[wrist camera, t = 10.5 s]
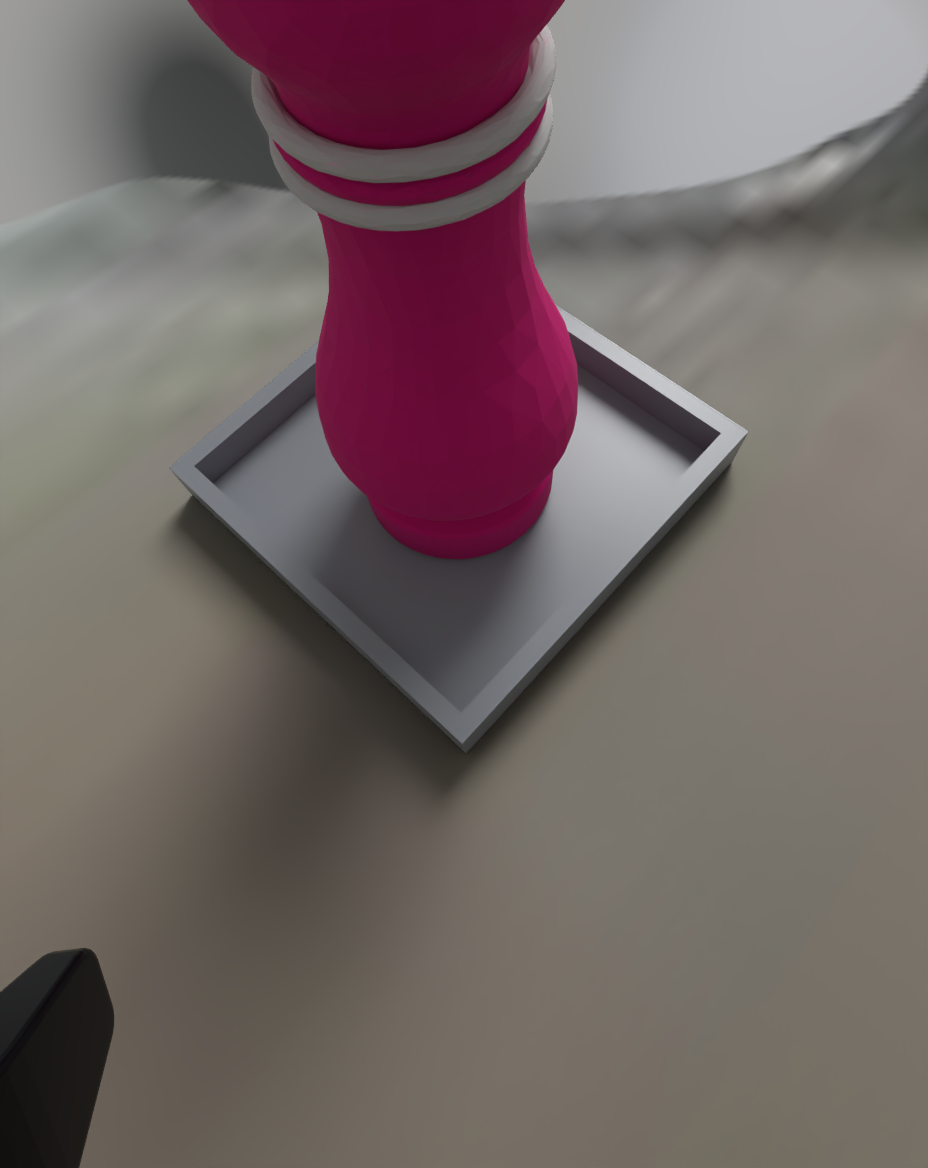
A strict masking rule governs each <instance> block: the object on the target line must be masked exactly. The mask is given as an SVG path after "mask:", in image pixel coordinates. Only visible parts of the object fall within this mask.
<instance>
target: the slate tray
mask: <svg viewBox="0 0 928 1168" xmlns="http://www.w3.org/2000/svg"><path fill="white" fill-rule="evenodd" d="M556 307H557V308H558V310H559V312H560V314H561V316H562V318H563V320H564V321H565V324H566V327H567V330H568V334H569V337H570V341H571V344H572V348H573V351H574V355H575V359H576V362H577V375H578V405H577V417H576V421H575V426H574V431H573V433H572V436H571V439H570V441H569V443H568V446H567V448H566V450H565V453H564V454H563V456H562V458H561V459H560V461H559V462H558V464H557V465H556V467H555V468H554V470H553V479H552V487H551V492H550V495H549V498H548V501H547V503H546V506H545V507H544V509H543V511H542V512H541V514H540V516H539V517H538V519H537V521H536V522H535V523H534V524H533V525H532V526H531V527H530V528H529V529H528V530H527V531H526V533H525V534H523V535H522V536H521V537H519V538H518V539H516V540H515V541H514V542H512V543H511V544H510V545H508V546H506V547H504V548H502V549H500V550H498V551H496V552H493V553H490V554H487V555H483V556H479V557H475V558H468V559H445V558H436V557H432V556H428V555H425V554H422V553H419V552H417V551H414V550H412V549H410V548H408V547H407V546H405V545H403V544H401V543H400V542H399V541H397V540H396V539H395V538H393V537H392V536H391V535H390V534H389V533H388V532H387V531H386V530H385V529H384V527H383V526H382V525H381V524H380V522H379V521H378V520H377V518H376V516H375V514H374V512H373V510H372V508H371V505H370V503H369V500H368V498H367V495H365V494H364V493H363V492H362V491H361V490H360V489H358V488H357V487H356V486H355V485H354V484H353V483H352V482H351V481H350V480H349V479H348V478H347V477H346V475H345V474H344V473H343V472H342V470H341V469H340V467H339V466H338V464H337V462H336V461H335V459H334V458H333V456H332V454H331V452H330V449H329V446H328V444H327V441H326V439H325V435H324V432H323V428H322V424H321V421H320V417H319V412H318V407H317V402H316V396H315V365H316V353H317V348H318V343H319V341H318V342H317V343H316V344H314V345H313V346H312V347H311V348H310V349H309V350H307V351H306V352H305V353H304V354H303V355H301V356H300V357H299V358H298V359H297V360H296V361H294V362H293V363H292V364H291V365H290V366H288V367H287V368H286V369H285V370H284V371H282V372H281V373H280V374H279V375H278V376H277V377H275V378H274V379H273V380H272V381H271V382H269V383H268V384H267V385H266V386H265V387H264V388H262V389H261V390H260V391H259V392H258V393H256V394H255V395H254V396H253V397H252V398H251V399H249V400H248V401H247V402H246V403H245V404H243V405H242V406H241V407H240V408H239V409H238V410H236V411H235V412H234V413H233V414H232V415H230V416H229V417H228V418H227V419H226V420H224V421H223V422H222V423H221V424H220V425H219V426H217V427H216V428H215V429H214V430H213V431H211V432H210V433H209V434H208V435H207V436H206V437H204V438H203V439H202V440H201V441H200V442H198V443H197V444H196V445H195V446H194V447H193V448H191V449H190V450H189V451H188V452H187V453H185V454H184V455H183V456H182V457H181V458H180V459H178V460H177V461H176V462H175V463H174V464H172V465H171V466H170V467H169V469H170V470H171V471H172V472H173V473H174V474H175V476H176V477H177V478H178V479H179V480H180V481H181V483H182V484H183V485H184V486H185V487H186V488H187V490H188V491H189V492H190V493H191V494H192V495H193V496H194V497H195V498H196V499H197V500H198V501H199V502H200V503H201V504H202V505H203V506H204V507H205V508H207V509H208V510H209V511H210V512H211V513H212V514H213V515H214V516H215V517H216V518H217V519H218V520H219V521H220V522H221V523H222V524H223V525H225V526H226V527H227V528H228V529H229V530H230V531H231V532H232V533H233V534H234V535H235V536H236V537H237V538H238V539H239V540H240V541H241V542H243V543H244V544H245V545H246V546H247V547H248V548H249V549H250V550H251V551H252V552H253V553H254V554H255V555H256V556H257V557H258V558H259V559H261V560H262V561H263V562H264V563H265V564H266V565H267V566H268V567H269V568H270V569H271V570H272V571H273V572H274V573H275V574H276V575H277V576H279V577H280V578H281V579H282V580H283V581H284V582H285V583H286V584H287V585H288V586H289V587H290V588H291V589H292V590H293V591H294V592H295V593H297V594H298V595H299V596H300V597H301V598H302V599H303V600H304V601H305V602H306V603H307V604H308V605H309V606H310V607H311V608H312V609H313V610H315V611H316V612H317V613H318V614H319V615H320V616H321V617H322V618H323V619H324V620H325V621H326V622H327V623H328V624H329V625H330V626H331V627H333V628H334V629H335V630H336V631H337V632H338V633H339V634H340V635H341V636H342V637H343V638H344V639H345V640H346V641H347V642H348V643H349V644H351V645H352V646H353V647H354V648H355V649H356V650H357V651H358V652H359V653H360V654H361V655H362V656H363V657H364V658H365V659H366V660H367V661H369V662H370V663H371V664H372V665H373V666H374V667H375V668H376V669H377V670H378V671H379V672H380V673H381V674H382V675H383V676H384V677H385V678H387V679H388V680H389V681H390V682H391V683H392V684H393V685H394V686H395V687H396V688H397V689H398V690H399V691H400V692H401V693H402V694H403V695H405V696H406V697H407V698H408V699H409V700H410V701H411V702H412V703H413V704H414V705H415V706H416V707H417V708H418V709H419V710H420V711H421V712H423V713H424V714H425V715H426V716H427V717H428V718H429V719H430V720H431V721H432V722H433V723H434V724H435V725H436V726H437V727H438V728H439V729H441V730H442V731H443V732H444V733H445V734H446V735H447V736H448V737H449V738H450V739H451V740H452V741H453V742H454V743H455V744H456V745H457V746H459V747H460V748H461V749H462V750H463V751H464V752H465V753H467V752H468V751H469V750H470V749H471V748H472V747H473V746H474V745H475V743H476V742H477V741H478V740H479V739H480V738H481V737H482V736H483V735H484V734H485V732H486V731H487V730H488V729H489V728H490V727H491V726H492V725H493V724H494V723H495V722H496V720H497V719H498V718H499V717H500V716H501V715H502V714H503V713H504V712H505V711H506V709H507V708H508V707H509V706H510V705H511V704H512V703H513V702H514V701H515V700H516V698H517V697H518V696H519V695H520V694H521V693H522V692H523V691H524V690H525V689H526V688H527V686H528V685H529V684H530V683H531V682H532V681H533V680H534V679H535V678H536V677H537V675H538V674H539V673H540V672H541V671H542V670H543V669H544V668H545V667H546V666H547V664H548V663H549V662H550V661H551V660H552V659H553V658H554V657H555V656H556V655H557V653H558V652H559V651H560V650H561V649H562V648H563V647H564V646H565V645H566V644H567V643H568V641H569V640H570V639H571V638H572V637H573V636H574V635H575V634H576V633H577V632H578V630H579V629H580V628H581V627H582V626H583V625H584V624H585V623H586V622H587V621H588V619H589V618H590V617H591V616H592V615H593V614H594V613H595V612H596V611H597V610H598V608H599V607H600V606H601V605H602V604H603V603H604V602H605V601H606V600H607V599H608V598H609V596H610V595H611V594H612V593H613V592H614V591H615V590H616V589H617V588H618V587H619V585H620V584H621V583H622V582H623V581H624V580H625V579H626V578H627V577H628V576H629V574H630V573H631V572H632V571H633V570H634V569H635V568H636V567H637V566H638V565H639V563H640V562H641V561H642V560H643V559H644V558H645V557H646V556H647V555H648V554H649V553H650V551H651V550H652V549H653V548H654V547H655V546H656V545H657V544H658V543H659V542H660V540H661V539H662V538H663V537H664V536H665V535H666V534H667V533H668V532H669V531H670V529H671V528H672V527H673V526H674V525H675V524H676V523H677V522H678V521H679V520H680V519H681V517H682V516H683V515H684V514H685V513H686V512H687V511H688V510H689V509H690V508H691V506H692V505H693V504H694V503H695V502H696V501H697V500H698V499H699V498H700V497H701V495H702V494H703V493H704V492H705V491H706V490H707V489H708V488H709V487H710V486H711V484H712V483H713V482H714V481H715V480H716V479H717V478H718V477H719V476H720V475H721V474H722V472H723V471H724V470H725V469H726V468H727V467H728V466H729V465H730V464H731V463H732V461H733V459H734V458H735V456H736V454H737V452H738V450H739V448H740V446H741V445H742V443H743V441H744V439H745V437H746V435H747V433H748V431H747V430H745V429H744V428H742V427H741V426H739V425H738V424H736V423H735V422H733V421H732V420H730V419H729V418H727V417H726V416H724V415H723V414H721V413H719V412H718V411H716V410H715V409H713V408H712V407H710V406H709V405H707V404H706V403H704V402H703V401H701V400H700V399H698V398H697V397H695V396H694V395H692V394H691V393H689V392H688V391H686V390H684V389H683V388H681V387H680V386H678V385H677V384H675V383H674V382H672V381H671V380H669V379H668V378H666V377H665V376H663V375H662V374H660V373H659V372H657V371H656V370H654V369H653V368H651V367H649V366H648V365H646V364H645V363H643V362H642V361H640V360H639V359H637V358H636V357H634V356H633V355H631V354H630V353H628V352H627V351H625V350H624V349H622V348H621V347H619V346H618V345H616V344H614V343H613V342H611V341H610V340H608V339H607V338H605V337H604V336H602V335H601V334H599V333H598V332H596V331H595V330H593V329H592V328H590V327H589V326H587V325H586V324H584V323H583V322H581V321H579V320H578V319H576V318H575V317H573V316H572V315H570V314H569V313H567V312H566V311H564V310H563V309H561V308H560V307H558V306H557V305H556Z"/></svg>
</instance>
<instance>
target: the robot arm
mask: <svg viewBox="0 0 928 1168" xmlns="http://www.w3.org/2000/svg"><path fill="white" fill-rule="evenodd" d="M113 1028H114V1010H113V1005H112V1002H111V999H110V996H109V993H108V989H107V986H106V983H105V980H104V977H103V974H102V971H101V968H100V965H99V961H98V959H97V957H96V954H95V953H94V952H93V951H92V950H90V949H86V948H80V949H72V950H63V951H55V952H51V953H48V954H46V955H44V956H43V957H41V958H40V959H39V960H37V961H36V962H35V963H34V964H33V965H31V966H30V967H29V968H28V969H27V970H26V971H24V972H23V973H22V974H21V975H20V976H19V977H17V978H16V979H15V980H14V981H13V982H12V983H10V984H9V985H8V986H7V987H6V988H4V989H3V990H2V991H1V992H0V1168H79V1166H80V1162H81V1158H82V1154H83V1150H84V1146H85V1142H86V1138H87V1134H88V1130H89V1127H90V1123H91V1119H92V1115H93V1111H94V1107H95V1103H96V1099H97V1095H98V1091H99V1087H100V1083H101V1079H102V1075H103V1071H104V1067H105V1063H106V1059H107V1055H108V1051H109V1047H110V1043H111V1039H112V1035H113Z"/></svg>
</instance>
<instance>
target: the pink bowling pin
mask: <svg viewBox="0 0 928 1168" xmlns="http://www.w3.org/2000/svg"><path fill="white" fill-rule="evenodd" d="M564 1H565V0H188V2H189V3H190V5H192V7H193V8H194V10H195V11H196V13H197V14H198V15H199V17H200V18H201V19H202V20H203V21H204V22H205V24H206V25H208V27H209V28H210V29H211V30H212V31H213V32H214V33H215V34H216V35H217V36H218V37H219V38H220V39H221V40H222V41H223V42H224V43H225V44H226V46H228V48H230V49H231V50H232V51H233V52H234V53H235V54H236V55H237V56H238V57H240V58H241V59H243V60H245V61H246V62H247V63H249V64H250V65H252V66H253V71H252V97H253V102H254V106H255V110H256V112H257V114H258V116H259V118H260V120H261V122H262V124H263V125H264V127H265V129H266V131H267V132H268V134H269V142H270V153H271V155H272V158H273V161H274V164H275V167H276V169H277V170H278V172H279V174H280V176H281V177H282V179H283V181H284V182H285V184H286V185H287V187H288V188H289V189H290V191H291V192H292V193H293V194H295V195H296V196H297V197H298V198H299V199H300V200H301V201H302V202H303V203H305V204H306V205H308V206H309V207H311V208H312V209H313V210H315V211H316V212H317V213H318V216H319V218H320V221H321V223H322V228H323V233H324V238H325V243H326V248H327V253H328V258H329V295H328V302H327V307H326V311H325V316H324V320H323V325H322V329H321V334H320V339H319V343H318V348H317V353H316V365H315V396H316V402H317V407H318V412H319V417H320V421H321V424H322V428H323V432H324V435H325V439H326V441H327V444H328V446H329V449H330V452H331V454H332V456H333V458H334V459H335V461H336V462H337V464H338V466H339V467H340V469H341V470H342V472H343V473H344V474H345V475H346V477H347V478H348V479H349V480H350V481H351V482H352V483H353V484H354V485H355V486H356V487H357V488H358V489H360V490H361V491H362V492H363V493H364V494H365V495H367V498H368V500H369V503H370V505H371V508H372V510H373V512H374V514H375V516H376V518H377V520H378V521H379V522H380V524H381V525H382V526H383V527H384V529H385V530H386V531H387V532H388V533H389V534H390V535H391V536H392V537H393V538H395V539H396V540H397V541H399V542H400V543H401V544H403V545H405V546H407V547H408V548H410V549H412V550H414V551H417V552H419V553H422V554H425V555H428V556H432V557H436V558H445V559H468V558H475V557H479V556H483V555H487V554H490V553H493V552H496V551H498V550H500V549H502V548H504V547H506V546H508V545H510V544H511V543H512V542H514V541H515V540H516V539H518V538H519V537H521V536H522V535H523V534H525V533H526V531H527V530H528V529H529V528H530V527H531V526H532V525H533V524H534V523H535V522H536V521H537V519H538V517H539V516H540V514H541V512H542V511H543V509H544V507H545V506H546V503H547V501H548V498H549V495H550V492H551V487H552V479H553V470H554V468H555V467H556V465H557V464H558V462H559V461H560V459H561V458H562V456H563V454H564V453H565V450H566V448H567V446H568V443H569V441H570V439H571V436H572V433H573V431H574V426H575V421H576V417H577V405H578V375H577V362H576V359H575V355H574V351H573V348H572V344H571V341H570V337H569V334H568V330H567V327H566V324H565V321H564V320H563V318H562V316H561V314H560V312H559V310H558V308H557V307H556V305H555V303H554V302H553V300H552V299H551V297H550V295H549V294H548V292H547V290H546V289H545V287H544V285H543V283H542V280H541V278H540V276H539V274H538V272H537V270H536V267H535V264H534V261H533V257H532V254H531V250H530V246H529V243H528V233H527V222H526V211H525V200H524V190H525V181H526V179H527V178H528V177H529V176H530V174H531V173H532V172H533V171H534V169H535V168H536V167H537V165H538V163H539V162H540V160H541V158H542V157H543V155H544V153H545V150H546V148H547V146H548V143H549V140H550V136H551V131H552V126H553V125H552V124H553V108H552V100H551V96H550V90H551V87H552V84H553V81H554V76H555V69H556V57H555V46H554V42H553V38H552V35H551V32H550V30H549V28H548V26H547V23H548V22H549V21H550V20H551V18H552V17H553V16H554V14H555V13H556V12H557V11H558V9H559V8H560V7H561V5H562V4H563V2H564Z"/></svg>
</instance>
